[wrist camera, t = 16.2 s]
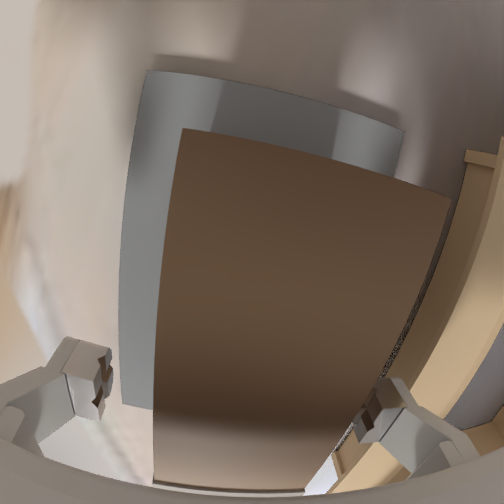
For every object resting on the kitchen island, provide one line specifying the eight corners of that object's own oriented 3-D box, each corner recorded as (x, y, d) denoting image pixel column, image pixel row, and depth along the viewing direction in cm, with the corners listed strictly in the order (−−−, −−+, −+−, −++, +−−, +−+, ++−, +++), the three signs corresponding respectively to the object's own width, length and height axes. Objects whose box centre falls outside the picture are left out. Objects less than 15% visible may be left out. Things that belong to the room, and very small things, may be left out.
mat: (150, 72, 10) (147, 69, 9) (397, 131, 11) (404, 131, 11) (124, 396, 15) (122, 403, 15) (297, 417, 17) (299, 424, 16)
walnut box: (208, 132, 11) (177, 127, 4) (332, 160, 11) (456, 201, 5) (171, 389, 15) (154, 514, 8) (261, 400, 15) (279, 522, 9)
